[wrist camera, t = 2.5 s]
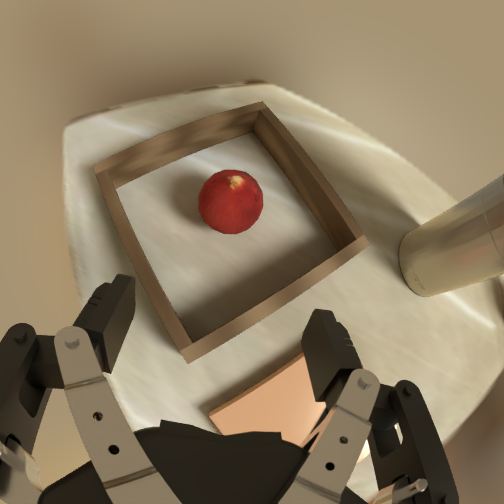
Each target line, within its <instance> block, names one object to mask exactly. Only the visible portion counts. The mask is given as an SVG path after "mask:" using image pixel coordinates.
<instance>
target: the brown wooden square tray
mask: <svg viewBox="0 0 504 504" xmlns="http://www.w3.org/2000/svg"><path fill="white" fill-rule="evenodd" d="M250 132H254V134H255V135H256V136H257V137H258V139H259V140H260V141H261V143H262V144H263V145H264V146H265V148H266V149H267V150H268V152H269V153H270V154H271V156H272V157H273V158H274V160H275V161H276V162H277V164H278V165H279V166H280V168H281V169H282V170H283V172H284V173H285V174H286V176H287V177H288V178H289V180H290V181H291V183H292V184H293V185H294V187H295V188H296V189H297V191H298V192H299V194H300V195H301V197H302V198H303V199H304V201H305V202H306V204H307V205H308V207H309V208H310V209H311V211H312V212H313V214H314V215H315V217H316V218H317V220H318V221H319V223H320V224H321V226H322V227H323V229H324V230H325V232H326V233H327V235H328V236H329V238H330V239H331V241H332V242H333V244H334V245H335V247H336V249H337V250H338V252H337V253H335V254H334V255H332V256H331V257H329V258H328V259H326V260H325V261H323V262H322V263H320V264H319V265H317V266H316V267H314V268H313V269H311V270H310V271H308V272H307V273H305V274H304V275H302V276H301V277H299V278H298V279H296V280H295V281H293V282H292V283H290V284H288V285H287V286H285V287H284V288H282V289H281V290H279V291H278V292H276V293H274V294H273V295H271V296H270V297H268V298H266V299H265V300H263V301H262V302H260V303H258V304H257V305H255V306H254V307H252V308H250V309H249V310H247V311H245V312H244V313H242V314H241V315H239V316H237V317H236V318H234V319H232V320H231V321H229V322H227V323H226V324H224V325H222V326H221V327H219V328H217V329H215V330H214V331H212V332H210V333H209V334H207V335H205V336H204V337H202V338H200V339H198V340H197V341H195V342H193V341H192V339H191V338H190V336H189V334H188V333H187V331H186V329H185V328H184V326H183V324H182V323H181V321H180V319H179V317H178V316H177V314H176V312H175V310H174V309H173V307H172V305H171V303H170V302H169V300H168V298H167V296H166V294H165V292H164V291H163V289H162V287H161V285H160V283H159V281H158V279H157V277H156V276H155V274H154V272H153V270H152V268H151V266H150V264H149V262H148V260H147V258H146V256H145V254H144V252H143V250H142V248H141V246H140V244H139V241H138V239H137V237H136V235H135V233H134V231H133V229H132V227H131V224H130V222H129V220H128V218H127V215H126V213H125V211H124V209H123V206H122V204H121V202H120V199H119V197H118V194H117V192H116V190H115V189H116V188H118V187H120V186H122V185H124V184H126V183H128V182H130V181H132V180H134V179H136V178H138V177H140V176H142V175H144V174H146V173H149V172H151V171H153V170H155V169H157V168H160V167H162V166H164V165H166V164H169V163H171V162H173V161H176V160H178V159H180V158H183V157H185V156H187V155H190V154H192V153H195V152H197V151H200V150H202V149H205V148H208V147H210V146H213V145H216V144H218V143H221V142H224V141H227V140H229V139H232V138H235V137H238V136H241V135H244V134H247V133H250ZM93 169H94V172H95V174H96V177H97V180H98V183H99V186H100V188H101V191H102V194H103V196H104V199H105V202H106V204H107V207H108V209H109V212H110V214H111V217H112V219H113V222H114V224H115V226H116V229H117V231H118V233H119V236H120V238H121V240H122V243H123V245H124V247H125V249H126V251H127V254H128V256H129V258H130V260H131V262H132V264H133V266H134V268H135V270H136V273H137V275H138V277H139V279H140V281H141V283H142V285H143V287H144V288H145V290H146V292H147V294H148V296H149V298H150V300H151V302H152V304H153V306H154V307H155V309H156V311H157V313H158V315H159V317H160V318H161V320H162V322H163V324H164V325H165V327H166V329H167V331H168V332H169V334H170V336H171V338H172V339H173V341H174V343H175V344H176V346H177V348H178V349H179V351H180V352H181V354H182V356H183V357H184V359H185V360H186V362H187V364H189V363H191V362H193V361H194V360H196V359H198V358H200V357H201V356H203V355H205V354H207V353H208V352H210V351H212V350H213V349H215V348H217V347H218V346H220V345H222V344H224V343H225V342H227V341H228V340H230V339H232V338H233V337H235V336H237V335H238V334H240V333H242V332H243V331H245V330H246V329H248V328H250V327H251V326H253V325H254V324H256V323H258V322H259V321H261V320H262V319H264V318H265V317H267V316H269V315H270V314H272V313H273V312H275V311H276V310H278V309H279V308H281V307H282V306H284V305H285V304H287V303H288V302H290V301H291V300H293V299H294V298H296V297H297V296H299V295H300V294H302V293H303V292H305V291H306V290H308V289H309V288H311V287H312V286H313V285H315V284H316V283H318V282H319V281H321V280H322V279H324V278H325V277H326V276H328V275H329V274H331V273H332V272H333V271H335V270H336V269H338V268H339V267H340V266H342V265H343V264H345V263H346V262H347V261H349V260H350V259H351V258H353V257H354V256H355V255H357V254H358V253H359V252H361V251H362V250H363V249H365V248H366V247H367V246H369V245H370V243H369V241H368V239H367V238H366V236H365V235H364V233H363V232H362V230H361V229H360V227H359V225H358V224H357V222H356V221H355V219H354V218H353V216H352V215H351V213H350V212H349V211H348V209H347V208H346V206H345V205H344V203H343V202H342V200H341V199H340V198H339V196H338V195H337V193H336V192H335V191H334V189H333V188H332V186H331V185H330V184H329V182H328V181H327V180H326V178H325V177H324V175H323V174H322V173H321V171H320V170H319V169H318V168H317V166H316V165H315V164H314V162H313V161H312V160H311V158H310V157H309V156H308V155H307V153H306V152H305V151H304V150H303V148H302V147H301V146H300V145H299V143H298V142H297V141H296V140H295V138H294V137H293V136H292V135H291V134H290V132H289V131H288V130H287V129H286V128H285V126H284V125H283V124H282V123H281V122H280V121H279V119H278V118H277V117H276V116H275V115H274V114H273V113H272V111H271V110H270V109H269V108H268V107H267V106H266V105H265V104H264V103H263V101H262V102H258V103H254V104H251V105H247V106H243V107H239V108H236V109H232V110H229V111H226V112H222V113H219V114H216V115H213V116H210V117H207V118H204V119H201V120H198V121H195V122H192V123H189V124H186V125H184V126H181V127H178V128H175V129H173V130H170V131H168V132H165V133H163V134H160V135H158V136H155V137H153V138H150V139H148V140H146V141H143V142H141V143H139V144H137V145H134V146H132V147H130V148H128V149H126V150H123V151H121V152H119V153H117V154H115V155H113V156H111V157H109V158H107V159H105V160H103V161H101V162H99V163H97V164H95V165H93Z"/></svg>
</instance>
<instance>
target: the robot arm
mask: <svg viewBox="0 0 504 504" xmlns="http://www.w3.org/2000/svg"><path fill="white" fill-rule="evenodd" d="M399 261H400V267H401V271H402V274H403V276H404V278H405V281H406V282H407V284H408V285H409V287H410V288H411V289H412V290H413V291H414V292H415V293H416V294H418V295H420V296H423V297H429V296H433V295H437V294H440V293H444V292H448V291H452V290H455V289H458V288H462V287H465V286H468V285H472V284H475V283H478V282H481V281H484V280H487V279H490V278H493V277H496V276H499V275H502V274H504V174H503V175H502V176H500V177H498V178H497V179H495V180H494V181H492V182H491V183H490V184H488V185H487V186H485V187H484V188H482V189H480V190H479V191H477V192H476V193H474V194H473V195H471V196H469V197H468V198H466V199H465V200H463V201H461V202H460V203H458V204H457V205H455V206H453V207H452V208H450V209H448V210H447V211H445V212H443V213H442V214H440V215H438V216H437V217H435V218H433V219H432V220H430V221H428V222H426V223H424V224H423V225H421V226H419V227H418V228H416V229H414V230H412V231H411V232H409V233H407V234H406V235H405V236H404V238H403V239H402V241H401V244H400V249H399ZM135 306H136V302H135V277H132V276H128V275H123V274H117V275H116V277H115V279H114V280H113V282H112V283H106V282H105V283H104V284H102V285H100V286H99V287H97V288H96V290H95V291H94V293H93V294H92V297H90V299H89V300H88V302H87V303H86V305H85V306H84V308H83V310H82V311H81V313H80V314H79V316H78V318H77V319H76V321H75V322H74V324H73V326H70V327H65V328H63V329H61V330H60V331H59V332H58V333H57V334H56V336H46V335H36V332H35V330H34V328H33V327H32V326H31V325H29V324H26V323H19V324H16V325H14V326H12V327H11V328H10V329H9V330H8V331H7V333H6V334H5V336H4V337H3V339H2V340H1V342H0V499H1V500H3V501H4V502H6V503H7V504H368V503H367V502H366V501H364V500H363V499H362V498H360V497H359V496H358V495H357V494H355V493H354V492H353V491H352V490H350V489H349V488H348V487H347V486H346V484H347V482H348V480H349V478H350V476H351V474H352V472H353V470H354V467H355V465H356V463H357V461H358V459H359V456H360V454H361V452H362V450H363V447H364V445H365V442H366V440H367V441H368V445H369V449H370V453H371V458H372V462H373V466H374V471H375V475H376V480H377V485H378V489H379V492H378V494H377V496H376V499H375V501H374V502H373V504H459V496H458V492H457V489H456V486H455V482H454V479H453V476H452V473H451V469H450V466H449V463H448V460H447V457H446V455H445V452H444V449H443V446H442V443H441V441H440V438H439V435H438V433H437V430H436V428H435V425H434V423H433V420H432V418H431V415H430V413H429V411H428V408H427V406H426V404H425V401H424V399H423V397H422V394H421V392H420V390H419V388H418V387H417V386H416V385H415V384H414V383H412V382H411V381H408V380H401V381H399V382H398V383H397V384H396V385H395V386H394V387H392V386H388V385H384V384H380V382H379V380H378V378H377V377H376V376H375V375H374V374H373V373H372V372H370V371H368V370H365V369H363V366H362V364H361V361H360V359H359V357H358V354H357V352H356V350H355V347H353V343H352V341H351V340H350V336H349V334H348V331H347V330H346V329H345V327H344V326H343V325H342V324H341V323H340V322H337V321H336V319H335V317H334V314H333V312H332V311H330V310H322V309H315V310H314V311H313V313H312V315H311V317H310V319H309V321H308V324H307V326H306V328H305V330H304V332H303V335H302V341H301V343H302V349H303V353H304V357H305V361H306V365H307V369H308V373H309V377H310V381H311V385H312V389H313V394H314V398H315V402H325V404H326V407H325V408H324V409H323V411H322V412H321V414H320V416H319V417H318V419H317V421H316V422H315V424H314V426H313V427H312V429H311V430H310V432H309V434H308V435H307V437H306V438H305V439H304V441H303V442H302V443H301V444H300V446H298V445H296V444H294V443H292V442H289V441H286V440H282V436H281V432H263V431H250V432H244V433H238V434H231V435H219V434H215V433H212V432H210V431H207V430H204V429H201V428H198V427H195V426H193V425H189V424H183V423H177V422H171V421H166V420H161V423H160V427H149V428H144V429H140V430H137V431H135V432H132V430H131V428H130V426H129V424H128V423H127V421H126V419H125V417H124V415H123V413H122V411H121V409H120V407H119V405H118V403H117V401H116V399H115V397H114V394H113V392H112V390H111V388H110V386H109V383H108V381H107V379H106V377H104V375H103V372H106V373H110V374H111V373H112V370H113V367H114V365H115V362H116V359H117V357H118V354H119V352H120V349H121V346H122V344H123V342H124V339H125V337H126V334H127V332H128V329H129V327H130V325H131V322H132V320H133V317H134V313H135ZM53 388H57V389H64V391H65V394H66V397H67V400H68V403H69V407H70V410H71V412H72V415H73V418H74V421H75V423H76V426H77V429H78V431H79V434H80V436H81V438H82V441H83V443H84V446H85V448H86V450H87V452H88V454H89V457H90V459H91V460H90V461H89V462H87V463H86V464H84V465H82V466H81V467H79V468H78V469H76V470H74V471H73V472H71V473H70V474H68V475H66V476H65V477H63V478H61V479H60V480H58V481H56V482H55V483H53V484H51V485H49V486H48V487H47V488H45V489H44V490H43V488H42V487H41V485H40V481H39V468H38V464H37V462H36V461H35V459H34V458H33V457H32V456H31V454H32V450H33V447H34V443H35V439H36V436H37V433H38V429H39V426H40V423H41V420H42V416H43V414H44V411H45V408H46V405H47V402H48V399H49V397H50V394H51V392H52V389H53ZM397 423H399V426H400V429H401V433H402V436H403V441H402V444H400V441H399V438H398V435H397V432H396V428H395V424H397Z"/></svg>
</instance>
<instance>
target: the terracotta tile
mask: <svg viewBox="0 0 504 504" xmlns="http://www.w3.org/2000/svg"><path fill="white" fill-rule="evenodd" d="M362 366H363V365H362ZM363 369H364V367H363ZM325 407H326V404H325V402H315V398H314V394H313V389H312V385H311V381H310V377H309V373H308V369H307V365H306V361H305V357H304V353H303V352H302V353H301V354H300V355H298V356H297V357H295V358H294V359H293V360H291V361H290V362H288V363H287V364H285V365H284V366H283V367H281V368H280V369H278V370H277V371H275V372H274V373H272V374H271V375H269V376H268V377H266V378H265V379H263V380H262V381H260V382H259V383H257V384H255V385H254V386H252V387H251V388H249V389H248V390H246V391H244V392H243V393H241V394H239V395H238V396H236V397H235V398H233V399H231V400H230V401H228V402H226V403H224V404H223V405H221V406H219V407H217V408H216V409H214V410H212V411H210V412H209V417H210V418H211V420H212V421H213V422H214V424H215V425H216V426H217V427H218V429H219V430H220V431H221V433H222V434H223V435H231V434H238V433H244V432H250V431H263V432H281V436H282V440H286V441H289V442H292V443H294V444H296V445H298V446H300V444H301V443H302V442H303V441H304V439H305V438H306V437H307V435H308V434H309V432H310V430H311V429H312V427H313V426H314V424H315V422H316V421H317V419H318V417H319V416H320V414H321V412H322V411H323V409H324V408H325ZM396 427H397V426H396V424H395V428H396ZM369 453H370V449H369V445H368V441H367V440H366V442H365V445H364V447H363V450H362V452H361V454H360V456H359V459H358V461H357V463H356V464H358V463H359V462H360V461H361V460H362V459H363V458H365V457H366V456H367V455H368V454H369Z"/></svg>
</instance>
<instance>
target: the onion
mask: <svg viewBox="0 0 504 504" xmlns="http://www.w3.org/2000/svg"><path fill="white" fill-rule="evenodd" d="M198 205H199V212H200V214H201V216H202V218H203V220H204V222H205V223H206V224H208V225H209V226H210V227H211V228H212V229H214V230H216V231H218V232H221V233H223V234H238V233H241V232H243V231H246V230H248V229H249V228H250V227H251V226H252V225H253V224H254V223H255V222H256V221H257V220H258V218H259V216H260V214H261V211H262V208H263V194H262V190H261V188H260V187H259V185H258V183H257V181H256V180H255V179H254V178H253V177H252V176H250V175H249V174H248V173H246V172H243V171H238V170H223V171H220V172H217V173H215V174H213V175H212V176H211V177H210V178H209V179H208V180H207V181H206V182H205V183H204V185H203V187H202V189H201V191H200V193H199V197H198Z"/></svg>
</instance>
